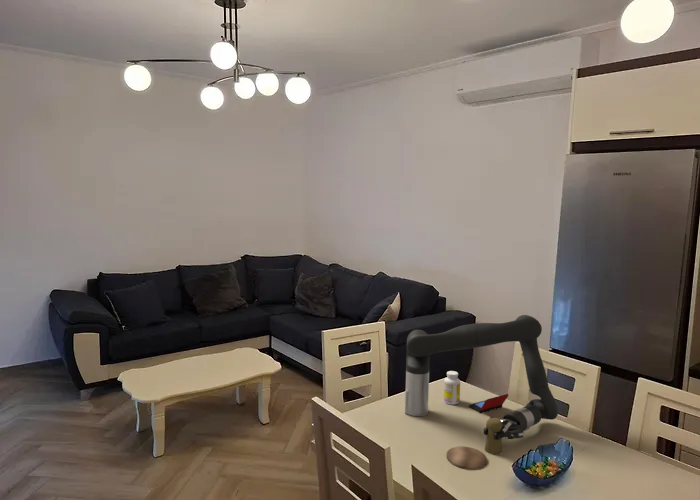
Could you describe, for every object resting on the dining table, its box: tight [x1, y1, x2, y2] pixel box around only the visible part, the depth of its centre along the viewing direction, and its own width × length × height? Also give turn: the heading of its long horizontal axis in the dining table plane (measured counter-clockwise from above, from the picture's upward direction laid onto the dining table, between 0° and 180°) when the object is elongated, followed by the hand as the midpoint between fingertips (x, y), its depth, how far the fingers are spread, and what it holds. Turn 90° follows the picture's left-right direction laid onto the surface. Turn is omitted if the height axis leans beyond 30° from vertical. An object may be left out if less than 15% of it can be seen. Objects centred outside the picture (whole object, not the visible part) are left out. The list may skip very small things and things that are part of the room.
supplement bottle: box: [443, 370, 461, 405], centre depth 210 cm, size 7×7×13 cm
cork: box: [484, 417, 504, 456], centre depth 170 cm, size 6×6×11 cm
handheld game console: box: [468, 393, 509, 414], centre depth 204 cm, size 12×11×7 cm
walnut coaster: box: [446, 446, 487, 470], centre depth 165 cm, size 13×13×1 cm
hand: (490, 434), depth 168 cm, fingers closed on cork, 3 cm apart
